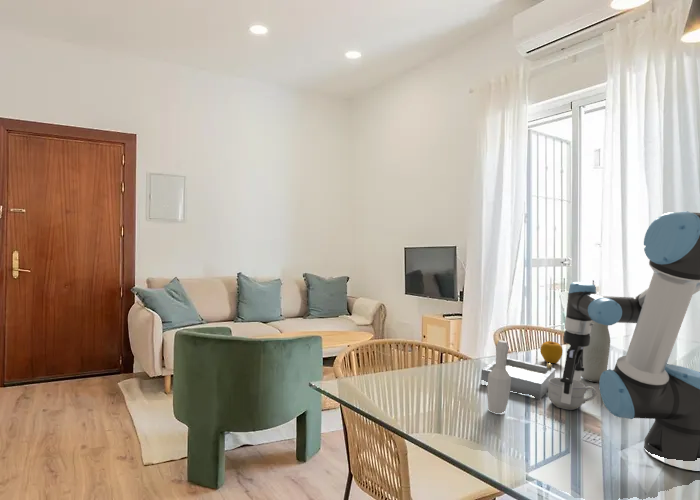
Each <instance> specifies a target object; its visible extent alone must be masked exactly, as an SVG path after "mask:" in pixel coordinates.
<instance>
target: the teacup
mask: <svg viewBox="0 0 700 500" xmlns="http://www.w3.org/2000/svg"><path fill="white" fill-rule="evenodd" d="M560 379H562V377H555V378H550V379H549V387H548V391H547V395H548V399H549V401H550V402H551V403H552V404H553V405H554V406H555V407H556V408H559V409H563V410H570V411H571V410H572V411H573V410H577V409H578V408H580V407H581V406H582V405H583V404H585V403H587V402H589V401H591V400H593V399H594V398H596V396H597V390H596V389H595V387H593V386H592V385H587V386H586V385H585V384H584V383H583V382H581V381H580V382H579V381H576V380H573V381H572V383H573V387H572V396H571V404H566V403H562V402H561V395H562V386H563V382H560ZM566 379H568V378H566ZM589 390H590V391H592V393H591V395H590V396H588V397H585V394H586V393H587V391H589Z"/></svg>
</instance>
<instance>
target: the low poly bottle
mask: <svg viewBox="0 0 700 500" xmlns="http://www.w3.org/2000/svg"><path fill="white" fill-rule="evenodd" d="M508 352H509V345H508V342H507V341H506V340H503V339H502V340H501V339H500V340H498V341H497V343H496V346H495V360H496V364H495V368H494V369H493V370H492V371H491V372H490V373H489V374H488V385H487V386H486V387H487V389H486V390H487V392H486V393H487V407H488V408H487V409H489V410H490V411H492V412H495V413H502V412H504V411H505V412H506V409H507V405H508V402H509V398H510V393H511V392H510V386H511V377H510V375H509V374H508V372H507V370H506V359H507V358H508ZM489 410H488V411H489Z"/></svg>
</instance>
